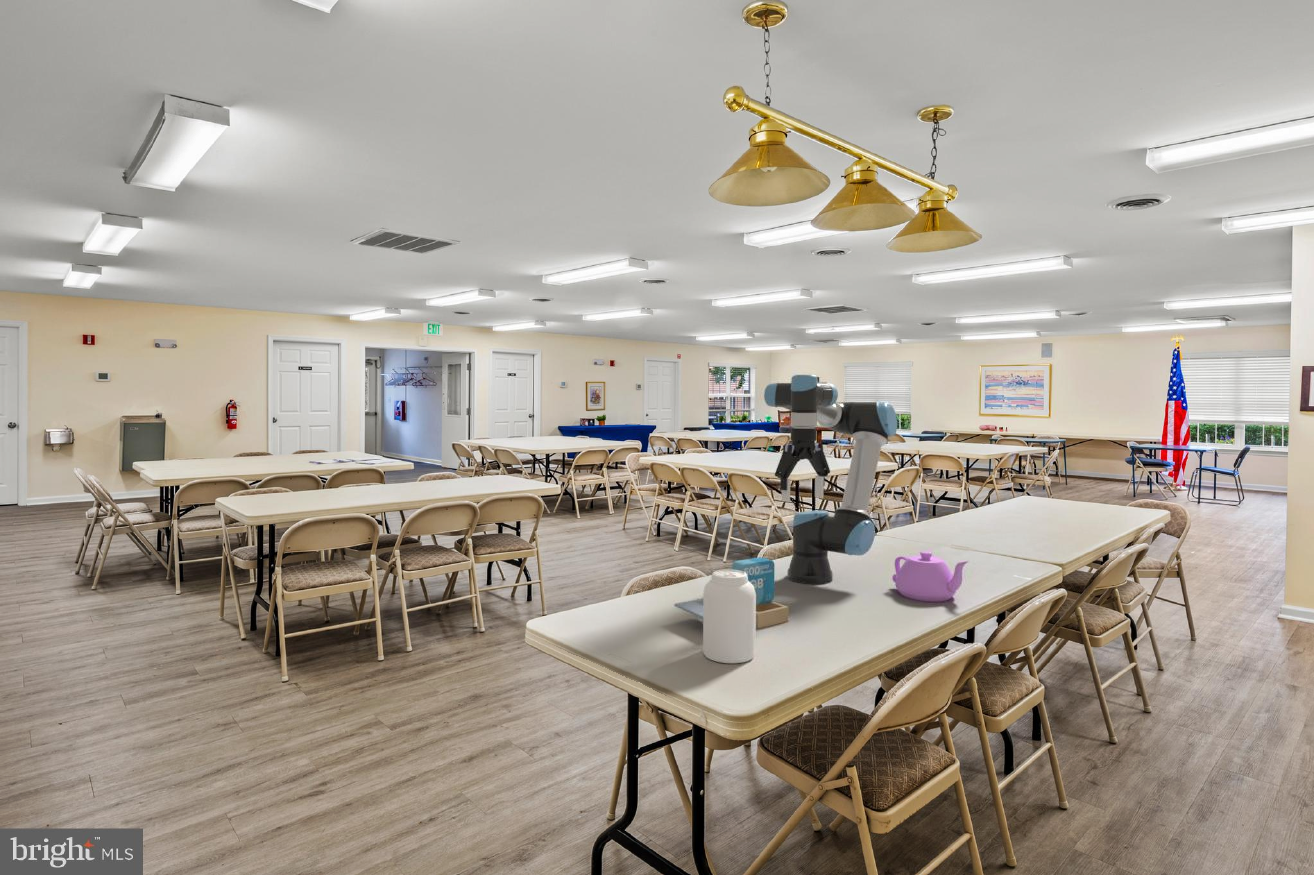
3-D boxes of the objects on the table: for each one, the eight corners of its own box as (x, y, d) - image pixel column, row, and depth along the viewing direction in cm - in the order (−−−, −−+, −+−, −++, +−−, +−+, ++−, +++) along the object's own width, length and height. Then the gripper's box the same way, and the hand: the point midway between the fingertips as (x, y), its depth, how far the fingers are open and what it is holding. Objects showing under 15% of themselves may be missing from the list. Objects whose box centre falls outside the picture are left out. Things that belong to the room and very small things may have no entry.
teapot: (877, 592, 217) (877, 549, 216) (907, 582, 228) (907, 542, 227) (953, 610, 197) (954, 564, 197) (981, 599, 209) (983, 555, 208)
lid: (706, 599, 193) (706, 585, 193) (745, 615, 179) (745, 600, 179) (674, 605, 187) (674, 591, 187) (712, 622, 173) (712, 606, 173)
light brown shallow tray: (747, 605, 202) (748, 592, 202) (788, 621, 188) (788, 606, 187) (718, 611, 196) (718, 598, 196) (758, 628, 182) (758, 613, 181)
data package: (741, 607, 186) (741, 564, 186) (731, 603, 190) (731, 561, 190) (774, 601, 193) (774, 559, 192) (764, 597, 196) (764, 556, 196)
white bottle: (760, 664, 157) (761, 578, 156) (707, 665, 156) (707, 579, 155) (749, 644, 169) (749, 565, 168) (699, 646, 168) (699, 566, 167)
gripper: (824, 426, 209) (823, 494, 210) (762, 427, 196) (762, 501, 197) (842, 427, 203) (841, 497, 204) (781, 428, 189) (780, 504, 190)
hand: (802, 499), depth 200 cm, fingers open, 13 cm apart
